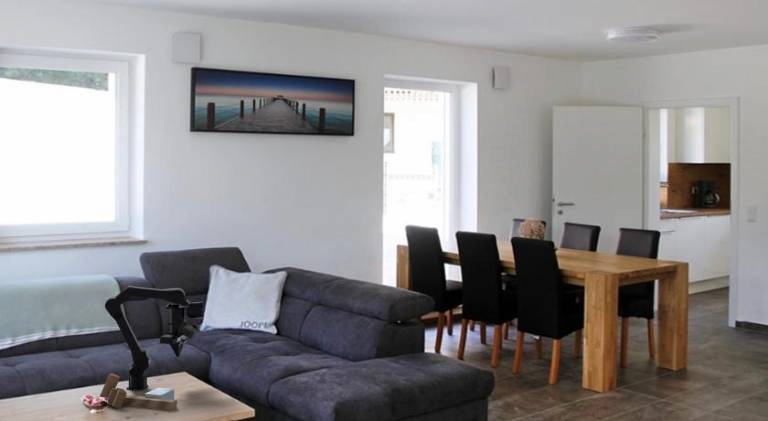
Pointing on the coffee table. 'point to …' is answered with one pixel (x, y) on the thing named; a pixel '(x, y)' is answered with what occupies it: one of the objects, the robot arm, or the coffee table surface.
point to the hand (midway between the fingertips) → (178, 356)
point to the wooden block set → (113, 391)
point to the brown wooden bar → (150, 402)
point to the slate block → (161, 393)
